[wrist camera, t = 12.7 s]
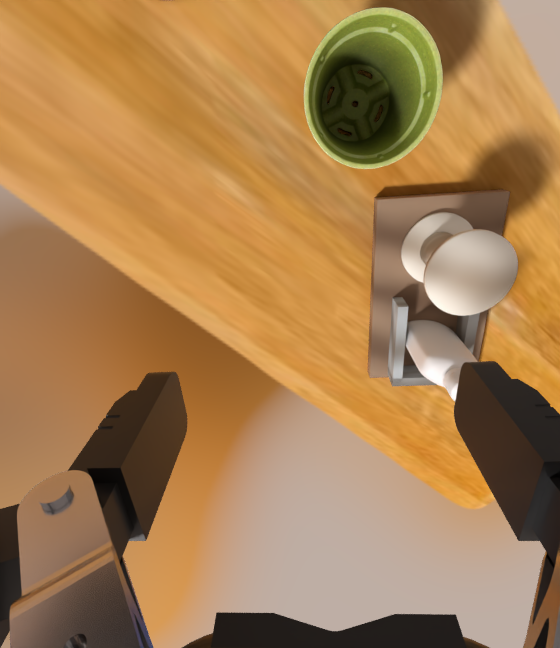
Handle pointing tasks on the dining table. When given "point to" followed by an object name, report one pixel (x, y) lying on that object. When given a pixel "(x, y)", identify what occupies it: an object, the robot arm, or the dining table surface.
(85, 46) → the dining table surface
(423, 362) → the eye dropper bottle
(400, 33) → the plant pot
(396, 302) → the board
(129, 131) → the dining table surface
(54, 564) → the robot arm
